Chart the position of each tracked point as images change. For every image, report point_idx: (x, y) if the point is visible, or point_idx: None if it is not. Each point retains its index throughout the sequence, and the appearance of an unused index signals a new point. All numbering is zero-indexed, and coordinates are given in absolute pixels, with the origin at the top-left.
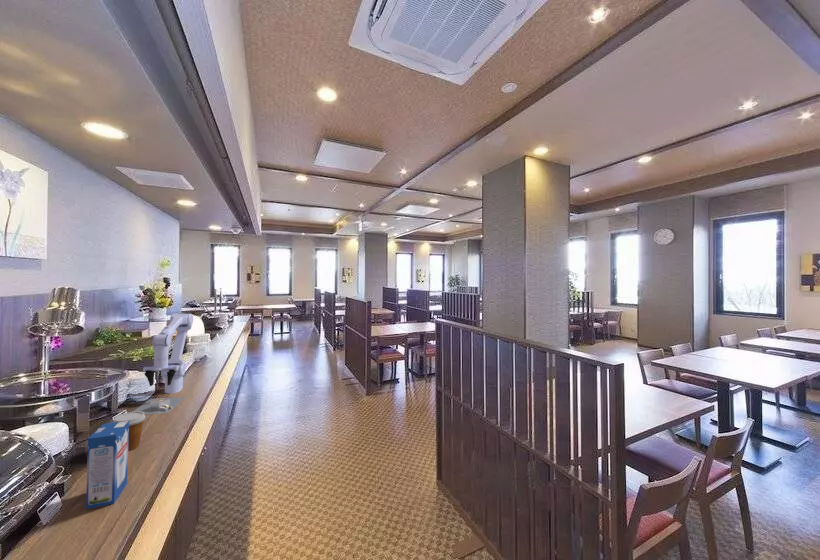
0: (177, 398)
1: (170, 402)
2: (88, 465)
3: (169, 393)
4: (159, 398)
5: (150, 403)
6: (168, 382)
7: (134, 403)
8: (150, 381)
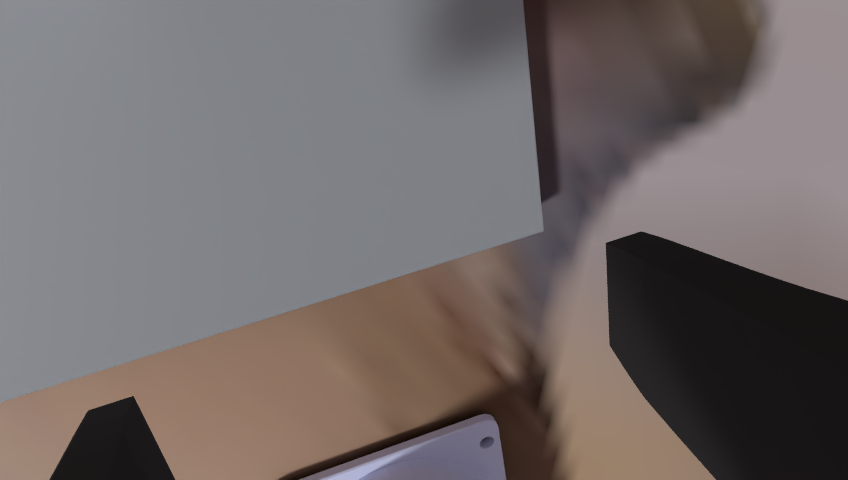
0: (68, 338)
1: (20, 128)
2: None
3: (396, 476)
4: None
5: (406, 33)
6: (75, 476)
7: (700, 110)
8: (725, 297)
